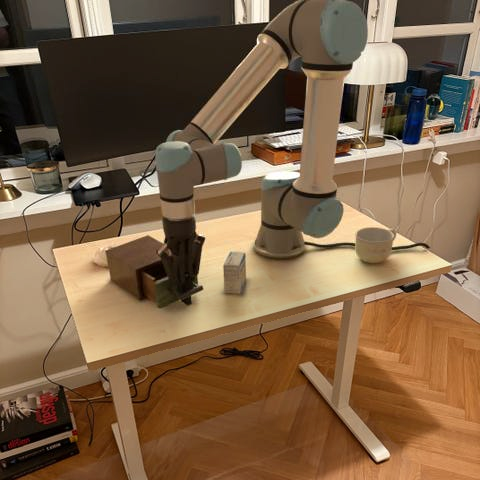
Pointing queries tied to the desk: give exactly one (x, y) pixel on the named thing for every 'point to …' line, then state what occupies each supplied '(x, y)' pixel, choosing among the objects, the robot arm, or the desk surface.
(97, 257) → the rose
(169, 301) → the drawer
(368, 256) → the teacup
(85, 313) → the desk surface
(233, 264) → the medicine box
